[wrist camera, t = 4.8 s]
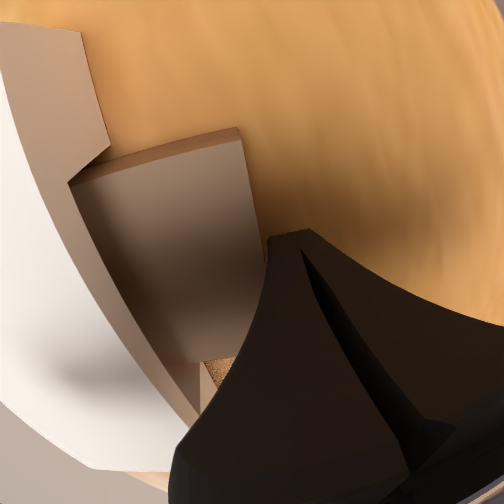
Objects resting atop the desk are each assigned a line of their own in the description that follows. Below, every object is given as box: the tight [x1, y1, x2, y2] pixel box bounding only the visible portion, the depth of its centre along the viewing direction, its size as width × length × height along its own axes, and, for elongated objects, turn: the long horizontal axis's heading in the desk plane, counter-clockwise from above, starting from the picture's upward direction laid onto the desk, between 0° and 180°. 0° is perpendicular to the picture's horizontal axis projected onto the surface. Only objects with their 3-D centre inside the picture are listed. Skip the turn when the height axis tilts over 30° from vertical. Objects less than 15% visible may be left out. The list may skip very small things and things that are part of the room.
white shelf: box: [0, 22, 218, 472], centre depth 9 cm, size 16×7×4 cm, turn 11°
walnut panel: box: [67, 127, 266, 367], centre depth 9 cm, size 7×9×2 cm
